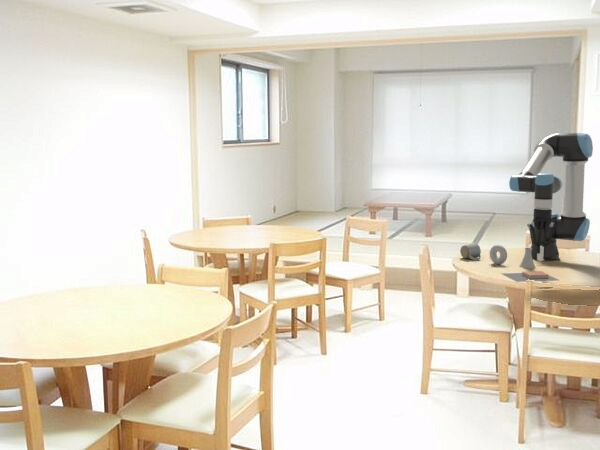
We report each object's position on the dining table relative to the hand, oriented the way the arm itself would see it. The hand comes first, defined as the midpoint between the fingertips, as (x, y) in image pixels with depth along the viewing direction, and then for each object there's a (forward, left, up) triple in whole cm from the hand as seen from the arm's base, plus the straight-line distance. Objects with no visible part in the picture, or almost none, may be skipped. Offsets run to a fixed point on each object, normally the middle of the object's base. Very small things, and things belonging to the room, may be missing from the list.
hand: (540, 260), depth 289 cm
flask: (-4, -20, -9) cm, 22 cm away
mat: (+4, 0, -8) cm, 9 cm away
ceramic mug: (+12, -47, -9) cm, 49 cm away
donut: (+6, -31, -8) cm, 33 cm away
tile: (-2, 0, -7) cm, 7 cm away
